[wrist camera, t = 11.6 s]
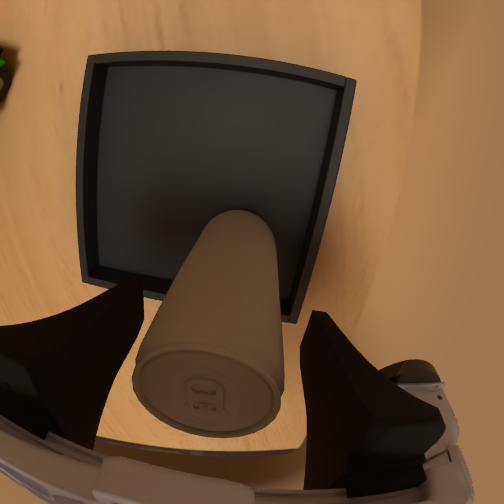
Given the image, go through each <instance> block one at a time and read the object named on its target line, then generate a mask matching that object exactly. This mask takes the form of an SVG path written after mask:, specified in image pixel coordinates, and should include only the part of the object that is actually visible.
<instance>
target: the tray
mask: <svg viewBox="0 0 504 504" xmlns="http://www.w3.org/2000/svg"><path fill="white" fill-rule="evenodd" d="M356 82H357V81H356V80H355V79H351V78H348V77H345V76H341V75H337V74H334V73H330V72H326V71H322V70H318V69H314V68H309V67H305V66H300V65H295V64H290V63H285V62H280V61H274V60H268V59H262V58H255V57H248V56H240V55H231V54H220V53H208V52H190V51H135V52H118V53H106V54H97V55H89V56H88V59H87V64H86V70H85V76H84V82H83V89H82V96H81V104H80V114H79V124H78V137H77V155H76V214H77V233H78V246H79V257H80V267H81V275H82V282H84V283H88V284H91V285H95V286H99V287H103V288H107V289H111V288H112V287H114V286H116V285H118V284H119V283H121V282H123V281H125V280H127V279H129V278H133V279H138V280H142V281H143V297H146V298H151V299H155V300H160V301H163V300H164V298H165V296H166V294H167V292H168V290H169V288H170V287H171V285H172V283H173V281H174V279H175V277H176V276H177V274H178V272H179V270H180V268H181V267H182V265H183V263H184V262H185V260H186V258H187V257H188V255H189V253H190V252H191V250H192V249H193V247H194V245H195V244H196V242H197V240H198V239H199V237H200V235H201V233H202V232H203V230H204V228H205V226H206V225H207V224H208V223H209V222H210V221H211V220H212V219H213V218H214V217H216V216H217V215H219V214H220V213H223V212H226V211H229V210H243V211H248V212H251V213H253V214H255V215H257V216H259V217H260V218H261V219H262V220H264V221H265V222H266V223H267V225H268V226H269V228H270V230H271V231H272V233H273V236H274V239H275V242H276V252H277V267H278V283H279V299H280V311H281V322H285V323H287V322H288V323H293V324H296V323H297V320H298V317H299V314H300V311H301V308H302V304H303V301H304V298H305V295H306V291H307V288H308V285H309V281H310V278H311V274H312V271H313V268H314V264H315V260H316V257H317V253H318V250H319V246H320V242H321V239H322V235H323V231H324V228H325V224H326V220H327V216H328V212H329V208H330V204H331V200H332V196H333V192H334V188H335V184H336V179H337V175H338V171H339V166H340V162H341V158H342V153H343V148H344V144H345V139H346V134H347V130H348V125H349V120H350V115H351V109H352V104H353V99H354V93H355V88H356Z"/></svg>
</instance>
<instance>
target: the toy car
mask: <svg viewBox="0 0 504 504" xmlns="http://www.w3.org/2000/svg"><path fill="white" fill-rule="evenodd" d="M2 52H3V49H2V48H0V100H1V99H2V98H3V97H4V95H5V94H6V92H7V90H8V88H9V85H10V81H11V75H10V72H9V70H8V69H7V68H5V67H3V65H4V64H5V62H6V61H3V60H1V54H2Z"/></svg>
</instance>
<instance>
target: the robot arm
mask: <svg viewBox="0 0 504 504" xmlns="http://www.w3.org/2000/svg"><path fill="white" fill-rule="evenodd" d="M143 321H144V301H143V281H142V280H138V279H133V278H129V279H127V280H125V281H123V282H121V283H119V284H118V285H116V286H114V287H112V288H111V289H109V290H107V291H105V292H104V293H102V294H100V295H98V296H96V297H94V298H92V299H91V300H89V301H87V302H85V303H83V304H81V305H79V306H76V307H74V308H72V309H70V310H67V311H65V312H62V313H59V314H57V315H53V316H50V317H47V318H43V319H40V320H36V321H32V322H27V323H22V324H16V325H7V326H0V472H1V473H3V474H4V475H5V476H7V477H8V478H10V479H11V480H13V481H14V482H15V483H17V484H18V485H20V486H21V487H23V488H24V489H26V490H27V491H29V492H31V493H32V494H34V495H35V496H37V497H39V498H41V499H42V500H44V501H46V502H48V503H49V504H472V503H473V497H474V495H475V493H474V490H473V487H472V480H471V476H470V474H469V471H468V468H467V465H466V462H465V460H464V457H463V455H462V452H461V450H460V448H459V446H458V445H456V443H457V440H458V436H459V426H458V422H457V419H456V417H455V415H454V413H453V410H452V408H451V406H450V404H449V402H448V400H447V398H446V395H445V393H444V391H443V388H444V387H445V382H430V383H394V382H392V381H391V380H389V379H388V378H387V377H386V376H384V375H383V374H382V373H381V372H379V371H378V370H377V369H376V368H375V367H374V366H373V365H372V364H371V363H369V362H368V361H367V360H366V359H365V358H364V357H363V355H362V354H361V353H360V352H359V351H358V350H357V349H356V348H355V347H354V346H353V345H352V343H351V342H350V341H349V340H348V339H347V337H346V336H345V335H344V334H343V332H342V331H341V330H340V329H339V327H338V326H337V325H336V324H335V322H334V321H333V320H332V318H331V317H330V316H329V315H328V314H327V313H326V312H321V311H314V310H312V313H311V316H310V319H309V322H308V325H307V328H306V331H305V334H304V336H303V339H302V342H301V345H300V369H301V377H302V384H303V391H304V398H305V405H306V415H307V448H306V449H307V450H306V451H307V452H306V467H305V479H304V489H303V490H280V489H261V488H249V487H247V486H245V485H243V484H240V483H238V482H233V481H228V480H224V479H218V478H211V477H205V476H199V475H194V474H189V473H184V472H180V471H175V470H171V469H166V468H162V467H158V466H154V465H151V464H147V463H144V462H140V461H137V460H134V459H128V458H124V457H120V456H111V457H108V456H105V455H103V454H100V453H97V452H95V451H93V447H94V442H95V438H96V434H97V430H98V426H99V423H100V419H101V416H102V412H103V409H104V406H105V403H106V400H107V397H108V395H109V392H110V389H111V387H112V384H113V381H114V379H115V377H116V375H117V373H118V371H119V369H120V368H121V366H122V364H123V362H124V360H125V358H126V357H127V355H128V353H129V351H130V349H131V348H132V346H133V344H134V342H135V340H136V338H137V336H138V334H139V331H140V329H141V326H142V323H143Z"/></svg>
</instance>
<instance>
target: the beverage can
mask: <svg viewBox="0 0 504 504" xmlns="http://www.w3.org/2000/svg"><path fill="white" fill-rule="evenodd" d="M132 383H133V390H134V392H135V394H136V396H137V398H138V400H139V401H140V402H141V404H142V405H143V406H144V407H145V408H146V409H147V410H148V411H149V412H150V413H151V414H152V415H154V416H155V417H156V418H158V419H159V420H160V421H162V422H164V423H166V424H168V425H170V426H171V427H173V428H176V429H178V430H181V431H184V432H187V433H190V434H194V435H199V436H204V437H212V438H232V437H240V436H244V435H248V434H252V433H255V432H257V431H259V430H261V429H263V428H265V427H266V426H267V425H269V424H270V423H271V422H272V421H273V420H274V419H275V418H276V416H277V414H278V412H279V410H280V406H281V396H282V394H283V392H284V354H283V338H282V323H281V311H280V299H279V283H278V267H277V252H276V242H275V239H274V236H273V233H272V231H271V230H270V228H269V226H268V225H267V223H266V222H265V221H264V220H262V219H261V218H260V217H259V216H257V215H255V214H253V213H251V212H248V211H243V210H229V211H226V212H223V213H220V214H219V215H217V216H216V217H214V218H213V219H212V220H211V221H210V222H209V223H208V224H207V225H206V226H205V228H204V230H203V232H202V233H201V235H200V237H199V239H198V240H197V242H196V244H195V245H194V247H193V249H192V250H191V252H190V253H189V255H188V257H187V258H186V260H185V262H184V263H183V265H182V267H181V268H180V270H179V272H178V274H177V276H176V277H175V279H174V281H173V283H172V285H171V287H170V288H169V290H168V292H167V294H166V296H165V298H164V300H163V302H162V304H161V305H160V307H159V309H158V311H157V313H156V315H155V317H154V319H153V321H152V323H151V325H150V327H149V329H148V331H147V333H146V335H145V337H144V339H143V341H142V343H141V345H140V348H139V351H138V354H137V357H136V366H135V369H134V372H133V375H132Z"/></svg>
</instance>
